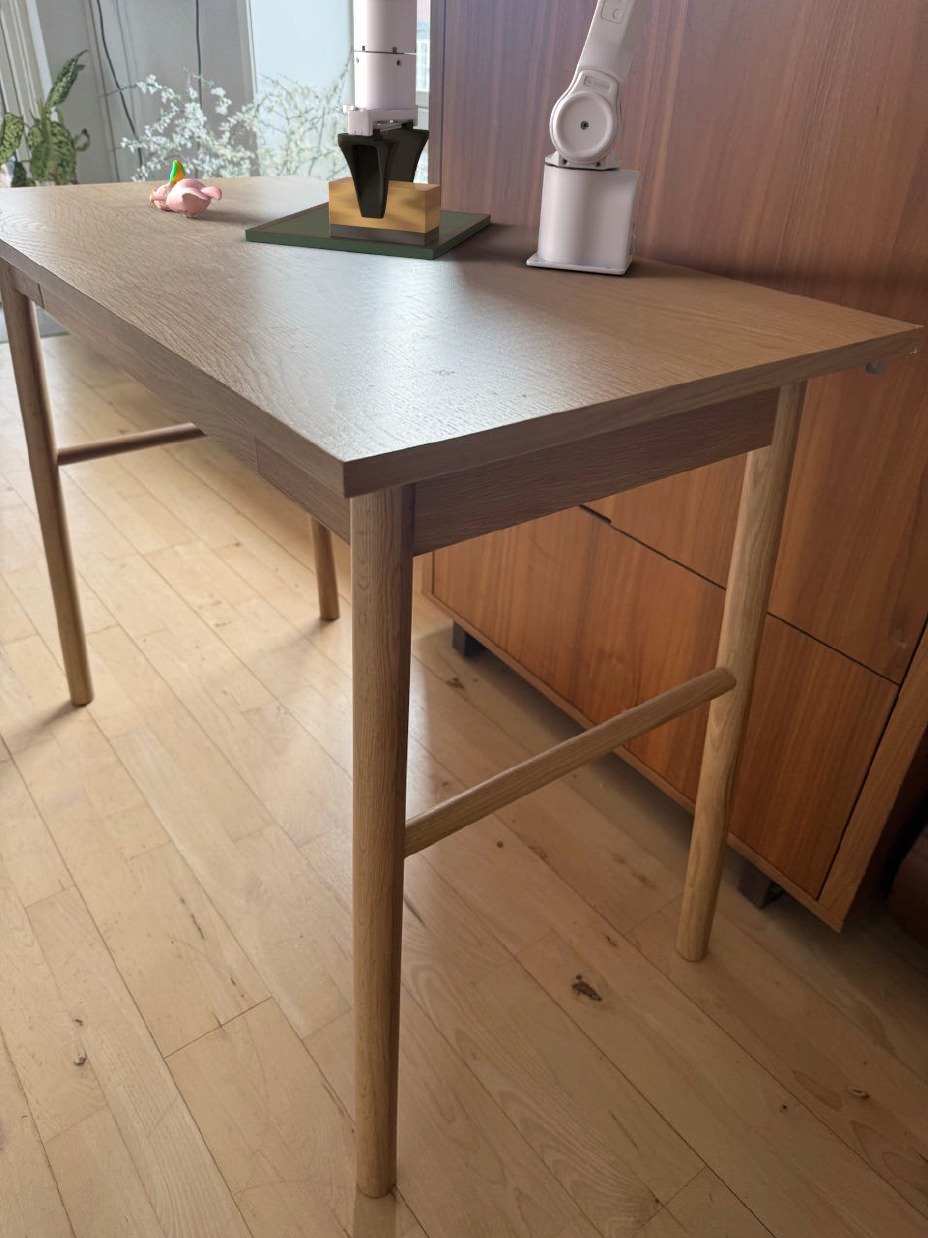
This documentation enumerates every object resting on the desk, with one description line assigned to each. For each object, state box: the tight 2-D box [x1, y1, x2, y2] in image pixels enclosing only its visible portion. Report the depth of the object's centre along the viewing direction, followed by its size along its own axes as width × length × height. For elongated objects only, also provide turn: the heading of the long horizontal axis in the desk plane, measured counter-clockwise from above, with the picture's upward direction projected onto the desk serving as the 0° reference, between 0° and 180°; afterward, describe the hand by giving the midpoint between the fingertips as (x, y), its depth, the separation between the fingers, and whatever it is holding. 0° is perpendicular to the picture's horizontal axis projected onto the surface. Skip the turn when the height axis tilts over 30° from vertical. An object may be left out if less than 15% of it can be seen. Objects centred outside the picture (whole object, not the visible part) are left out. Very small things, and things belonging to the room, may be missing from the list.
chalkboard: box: [244, 201, 492, 261], centre depth 103 cm, size 20×24×1 cm
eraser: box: [328, 176, 442, 246], centre depth 93 cm, size 10×5×5 cm, turn 75°
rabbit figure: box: [149, 159, 223, 218], centre depth 104 cm, size 6×6×15 cm
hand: (385, 212), depth 93 cm, fingers open, 7 cm apart
